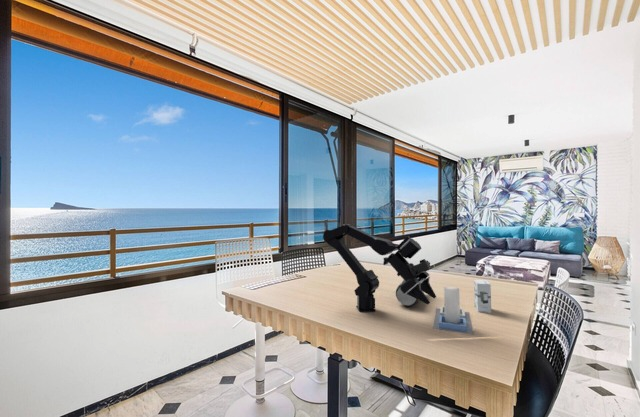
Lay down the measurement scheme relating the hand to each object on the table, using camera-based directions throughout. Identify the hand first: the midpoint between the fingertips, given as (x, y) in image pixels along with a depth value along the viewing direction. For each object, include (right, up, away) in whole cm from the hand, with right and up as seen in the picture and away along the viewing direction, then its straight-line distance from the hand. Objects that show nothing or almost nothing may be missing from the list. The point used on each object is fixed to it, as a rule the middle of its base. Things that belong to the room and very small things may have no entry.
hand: (432, 300), depth 103 cm
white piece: (+5, -7, -4) cm, 10 cm away
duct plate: (+8, -8, +1) cm, 11 cm away
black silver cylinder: (+1, -9, +28) cm, 29 cm away
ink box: (+26, -9, +13) cm, 30 cm away
